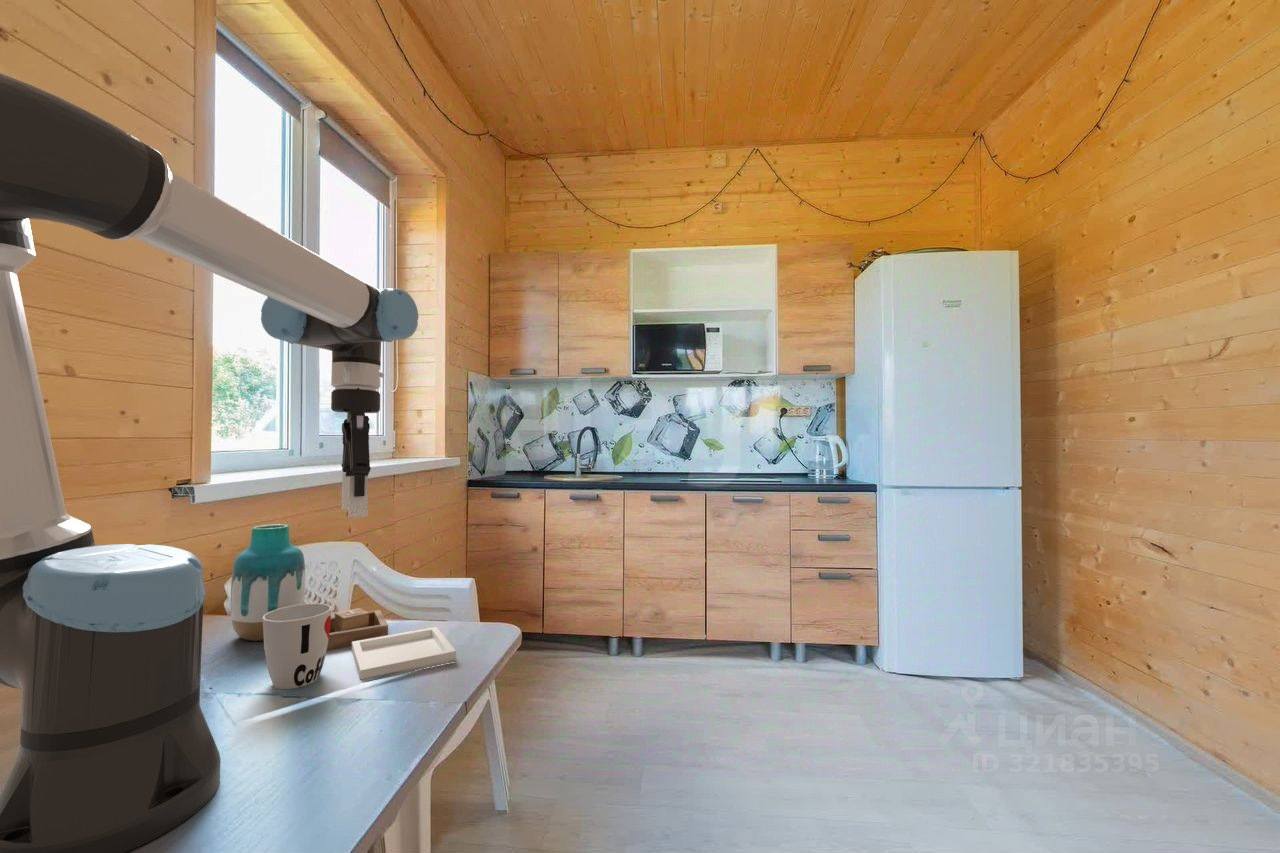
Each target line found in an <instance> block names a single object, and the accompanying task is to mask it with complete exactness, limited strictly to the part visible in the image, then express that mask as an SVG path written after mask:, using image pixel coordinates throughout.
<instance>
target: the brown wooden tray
mask: <svg viewBox="0 0 1280 853" xmlns="http://www.w3.org/2000/svg"><path fill="white" fill-rule="evenodd" d="M368 612H369V627H363V628H357V629H351V630H345V631H339V632H335V616H331V620H330V632H329V640H328V645H327V650H326V652H327V651H333V650H334V651H335V650H340V649H345V648H352V642H353V641H359V640H364V639H370V638H376V637H381V636H387V635H389V624H388V623H387V620H386V618H385V617H384V615H383V613H382V611H381V610H380V609H377V610H371V611H368Z"/></svg>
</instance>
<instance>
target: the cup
mask: <svg viewBox="0 0 1280 853" xmlns="http://www.w3.org/2000/svg"><path fill="white" fill-rule="evenodd" d="M331 617H332V606H331V605H329V604H327V603H304V604H301V605H294V606H289V607H284V608H280V609H276V610H273V611H271V612H268V613H267V614H265V615H264V616H263V635H264V640H263V649H264V653H265V660H266V665H267V671H268V676H269V677H270V680H271V684H272V685H273V687H274V688H275V689H277V690H289V689H290V690H291V689H297V688H301V687H305V686H308V685H310V684H312V683H314V682H316V681H317V680H318V679H319V678H320V676H321V673H322V669H323V666H324V663H325V660H326V654H327V651H326V650H327V645H328V640H329V632H330V620H331Z"/></svg>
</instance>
